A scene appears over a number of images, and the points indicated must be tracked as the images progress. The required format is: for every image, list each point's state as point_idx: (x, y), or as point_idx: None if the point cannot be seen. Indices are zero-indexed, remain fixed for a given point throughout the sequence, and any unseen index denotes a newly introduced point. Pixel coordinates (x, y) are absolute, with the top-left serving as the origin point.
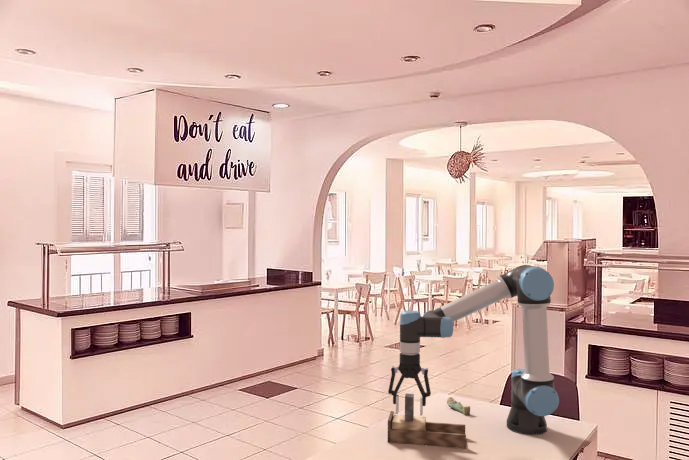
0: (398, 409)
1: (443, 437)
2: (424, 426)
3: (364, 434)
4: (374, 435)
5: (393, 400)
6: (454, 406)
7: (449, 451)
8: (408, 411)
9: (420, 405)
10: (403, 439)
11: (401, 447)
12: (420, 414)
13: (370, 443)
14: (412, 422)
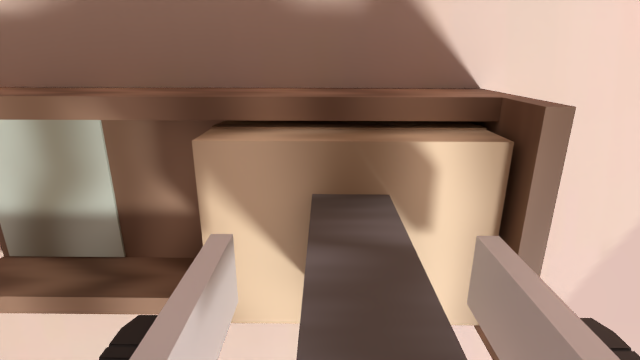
0: (476, 315)
1: (69, 92)
2: (201, 136)
3: (628, 195)
4: (562, 191)
5: (633, 357)
6: None
7: (57, 16)
8: (363, 236)
9: (193, 302)
10: (376, 91)
11: (383, 17)
12: (226, 239)
13: (601, 44)
14: (313, 168)
